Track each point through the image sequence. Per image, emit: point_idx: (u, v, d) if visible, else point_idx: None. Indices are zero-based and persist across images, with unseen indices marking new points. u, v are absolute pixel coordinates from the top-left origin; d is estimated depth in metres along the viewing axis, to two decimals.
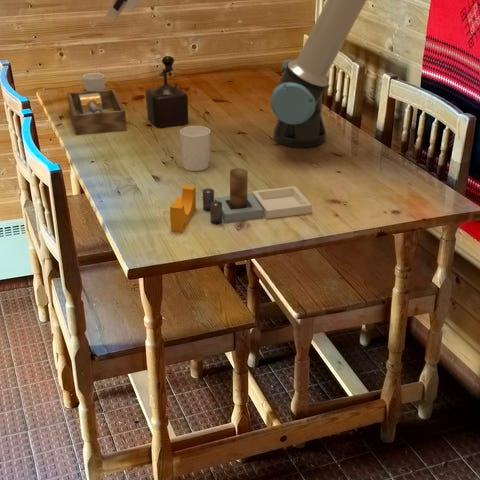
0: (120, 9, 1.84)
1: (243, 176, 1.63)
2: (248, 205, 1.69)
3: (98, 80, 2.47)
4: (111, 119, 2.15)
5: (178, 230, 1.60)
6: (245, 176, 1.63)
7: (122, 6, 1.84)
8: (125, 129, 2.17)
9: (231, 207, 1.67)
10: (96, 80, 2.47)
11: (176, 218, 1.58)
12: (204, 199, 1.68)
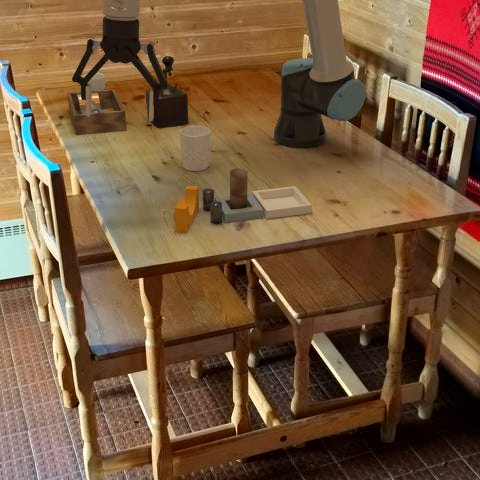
0: None
1: (243, 176, 1.63)
2: (248, 205, 1.69)
3: (98, 80, 2.47)
4: (111, 119, 2.15)
5: (182, 230, 1.59)
6: (245, 176, 1.63)
7: None
8: (125, 129, 2.17)
9: (231, 207, 1.67)
10: (96, 80, 2.47)
11: (180, 218, 1.58)
12: (204, 199, 1.68)
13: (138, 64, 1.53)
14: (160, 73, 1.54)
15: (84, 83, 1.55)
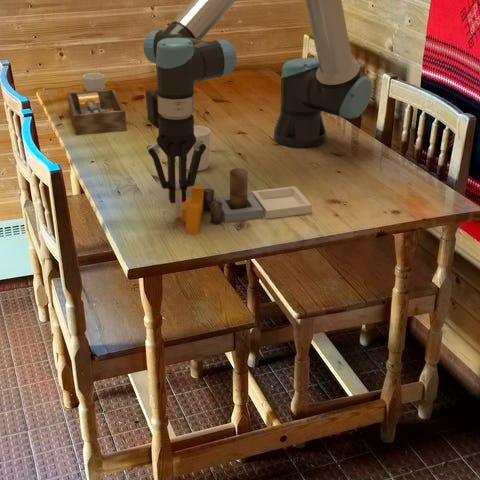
0: None
1: (243, 176, 1.63)
2: (248, 205, 1.69)
3: (98, 80, 2.47)
4: (111, 119, 2.15)
5: (193, 229, 1.59)
6: (245, 176, 1.63)
7: None
8: (125, 129, 2.17)
9: (231, 207, 1.67)
10: (96, 80, 2.47)
11: (192, 217, 1.57)
12: (204, 199, 1.68)
13: (184, 161, 1.57)
14: (196, 172, 1.60)
15: (174, 187, 1.60)
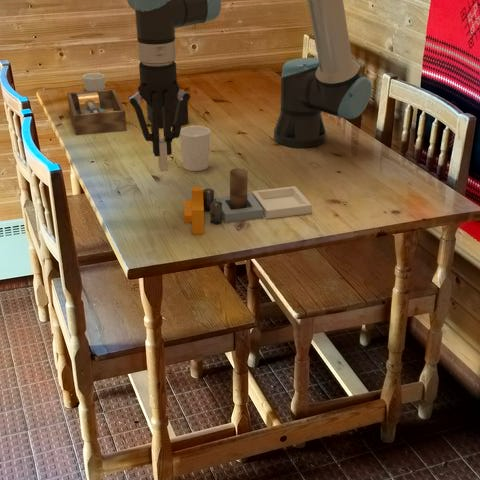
0: None
1: (243, 176, 1.63)
2: (248, 205, 1.69)
3: (98, 80, 2.47)
4: (111, 119, 2.15)
5: (200, 232, 1.59)
6: (245, 176, 1.63)
7: None
8: (125, 129, 2.17)
9: (231, 207, 1.67)
10: (96, 80, 2.47)
11: (198, 220, 1.57)
12: (204, 199, 1.68)
13: (168, 111, 1.51)
14: (180, 123, 1.53)
15: (157, 139, 1.53)
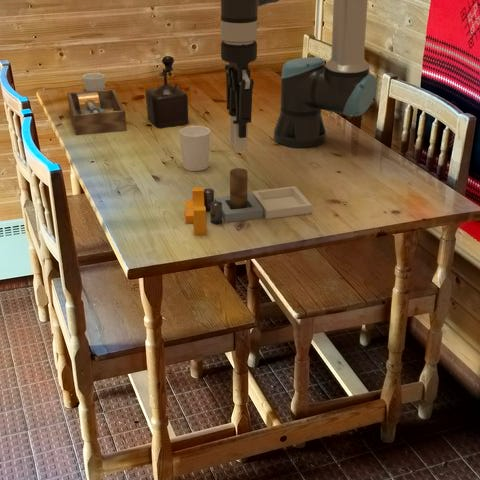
0: None
1: (243, 176, 1.63)
2: (248, 205, 1.69)
3: (98, 80, 2.47)
4: (111, 119, 2.15)
5: (202, 232, 1.59)
6: (245, 176, 1.63)
7: None
8: (125, 129, 2.17)
9: (231, 207, 1.67)
10: (96, 80, 2.47)
11: (200, 221, 1.57)
12: (204, 199, 1.68)
13: None
14: None
15: None
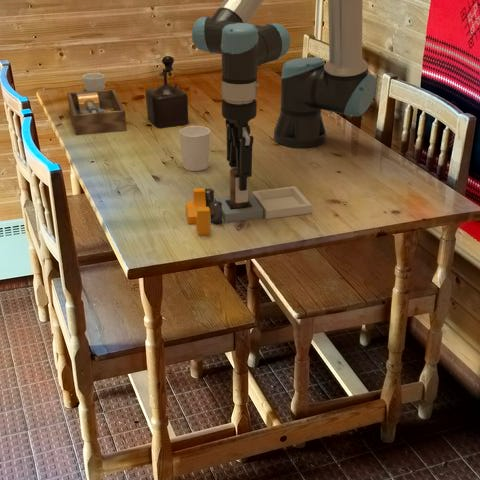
0: None
1: None
2: (248, 205, 1.69)
3: (98, 80, 2.47)
4: (111, 119, 2.15)
5: (206, 233, 1.59)
6: None
7: None
8: (125, 129, 2.17)
9: (231, 206, 1.67)
10: (96, 80, 2.47)
11: (204, 221, 1.57)
12: None
13: None
14: None
15: None
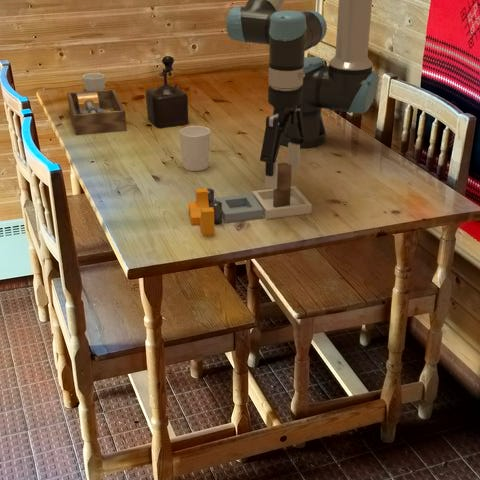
0: None
1: (281, 171, 1.65)
2: (248, 205, 1.69)
3: (98, 80, 2.47)
4: (111, 119, 2.15)
5: (210, 233, 1.58)
6: (283, 171, 1.65)
7: None
8: (125, 129, 2.17)
9: (273, 198, 1.71)
10: (96, 80, 2.47)
11: (208, 222, 1.57)
12: None
13: None
14: (303, 125, 1.69)
15: (275, 160, 1.59)
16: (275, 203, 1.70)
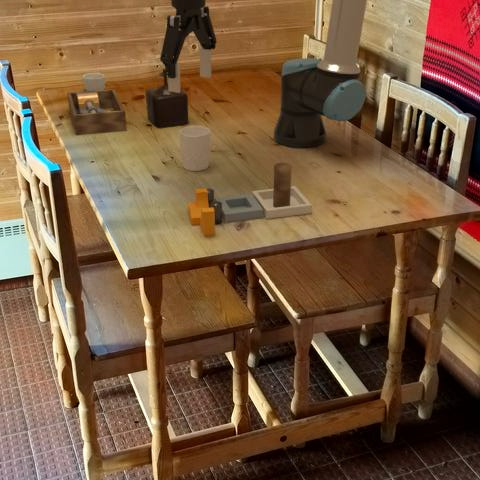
0: None
1: (281, 171, 1.65)
2: (248, 205, 1.69)
3: (98, 80, 2.47)
4: (111, 119, 2.15)
5: (211, 234, 1.58)
6: (283, 172, 1.65)
7: None
8: (125, 129, 2.17)
9: (273, 198, 1.71)
10: (96, 80, 2.47)
11: (209, 222, 1.57)
12: None
13: None
14: (213, 31, 1.69)
15: (176, 61, 1.58)
16: (275, 203, 1.70)
